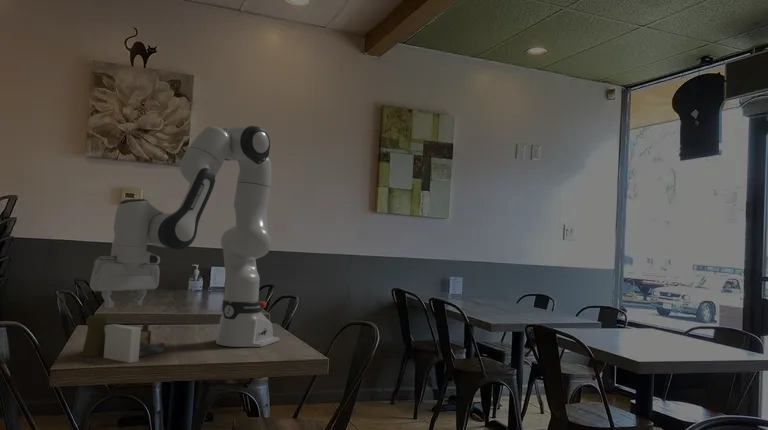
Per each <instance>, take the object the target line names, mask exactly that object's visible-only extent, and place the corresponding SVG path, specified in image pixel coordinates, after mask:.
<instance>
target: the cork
mask: <svg viewBox="0 0 768 430" xmlns="http://www.w3.org/2000/svg"><path fill="white" fill-rule="evenodd" d="M85 323H86V326H87V331H86V335H85V340H84V344H83V350H82V354H81V355H82V357H85V356H88V357H87V358H98V357H104V346H105V331H106V329H105V328H106V325H108V324H107V323H108V320H107V317H106V316H105V315H101V314H94V315H90V316H88V317H87V318H86V322H85Z"/></svg>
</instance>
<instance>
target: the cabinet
mask: <svg viewBox="0 0 768 430" xmlns="http://www.w3.org/2000/svg"><path fill="white" fill-rule="evenodd" d="M149 326H150V325H149V324H148V323H144V324H142V328H141V334H140V347H139V357H143V356H147V355H153V354H158V353H159V354H160V353H164V349H165V343H163V342H158V343H152V344H151V339H152V337H151V336H152V330H149ZM105 334H106V330H105Z"/></svg>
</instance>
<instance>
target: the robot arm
mask: <svg viewBox="0 0 768 430" xmlns="http://www.w3.org/2000/svg"><path fill="white" fill-rule="evenodd" d="M270 149H271V139H270V136H269V134H268V132H267V131H266V130H265V129H264V128H262V127H259V126H255V125H248V126H247V125H246V126H245V125H243V126H242V125H239V126H238V125H237V126H234V127H229V128H221V127H220V126H219V127H218V126H216V125H211V126H210V125H209V126H207V127H205V128H204V129H203V130H202V131H201V132H200V133H199V134H198V135H197V136H196V137H195V139H194V140H193V141H192V142H191V144H190V145H189V147H188V148H187V150H186V151H185V153H184V154H183V156H182V159H181V161H180V164H179V171H180V173H181V175H182V177H183V178H184V179H185V180H186V181H187V182H188V183H189V187H188V189H187V191H186V193H185V196H184V198H183V200H182V202H181V204H180V206H179V207H178V208H177V210H175V211H174V212H172V213H164V212H163V211H161V210H159V209H157V208H156V207H155V206H153V205H152V204H151V203H150V201H149V200H147V199H144V198H132V199H125V200H124V199H123V200H122V201H120V202H119V203H118V205H117V208H116V212H115V217H114V223H113V233H114V237H113V240H112V244H111V251H110V252H111V253H110V255H108V256H107V255H100V256H99V257H98V258H96V259H95V260H94V261H93V262H94V263H93V269H92V273H91V276H90V280H89V287H90V289H91V291H94V292H101V297H102V298H103V300H104V308H106V309H111V308H112V309H113V308H114V306H115V305H114V304H115V301H114V300H112V298H111V296H112V294H113V293H112V292H115V291H117V292H119V291H137V292H136V293H137V296H136V298H135V299H133V303H132V304H133V306H134V307H142V305H143V301H144V298H145V297H146V295H147V291H148V290H157V288H158V286H159V285H160V284H159V283H160V273H161V272H160V266H159V264H160V262H161V257H160V256H158V255H156V254H155V253H152V252H151V251H148V250H147V246H148V244H149V245H151V246H153V247H154V246H155V247H160V248H167V249H168V248H169V249H172V250H174V251H175V250H178V251H179V250H184V249H187V248H189V246H191V245H192V243H193V242H194V241H195V239H196V237H197V234H198V233H197V232H198V226H199V222H200V220H201V216H202V214H203V212H204V210H205V208H206V205H207V203H208V201H209V199H210V197H211V194H212V192H213V191H214V190H213V189H214V188H215V185H216V184H215V183H216V177H217V175H218V173H219V171H220V170H221V167H222V166H223V164H224V162H225V161H235V162H237V163H238V167H239V173H238V176H237V182H236V189H235V194H234V202H233V208H234V212H235V226H232V227H231V228H229V229H227V230H226V231H224V233H223V234H222V235H221V240H220V245H221V248H222V252H223V253H222V254H223V262H224V271H225V282H224V284H225V285H224V298H223V300H222V304H221V306H222V307H221V308H222V309H221V310H222V314H221V316H220V318H219V319H220V320H219V324H218V325H219V326H218V331H217V336H216V337H215V339H214V340H215V343H216V344H217V345H220V346H223V347H224V346H225V347H231V348H232V347H234V348H247V347H248V348H250V347H251V348H253V347H254V348H256V347H257V348H262V347H265V346H268V345H270V344H273V343H277V342H279V341H280V337H278V336H274V333H273V332H274V330H273V327H274V326H273V323H272V322H271V321H270V320H269V319H268V318H267V317H266V316H265V315H264V314H263V313H262V308H263V309H264V308H266V307H267V302H266V301H260V300H259V298H260V297H259V294H260V282H261V281H260V279H261V278H260V274H259V272H258V268H257V261H256V260H258V259H261V258H262V257H264V256H266V255H267V254H268V253H269V252H270V250H271V247H272V239H271V236H270V234H269V221H268V207H269V201H270V193H271V186H272V163H271V161H272V160H270V158H269V155H270Z"/></svg>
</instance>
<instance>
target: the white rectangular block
mask: <svg viewBox="0 0 768 430" xmlns="http://www.w3.org/2000/svg"><path fill="white" fill-rule="evenodd" d="M141 329H142V328H141V327H137V326H131V325H130V326H129V325H124V324H118V323H112V324H106V326H105V331H106V334H105V346H104V356H103V359H108V358H109V360H113V361H118V360H119V362H123V361H124V363H128V364H129V363H134V362H136V363H137V362H139V360H140V358H139V357H140V356H139V347H140V334H141Z"/></svg>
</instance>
